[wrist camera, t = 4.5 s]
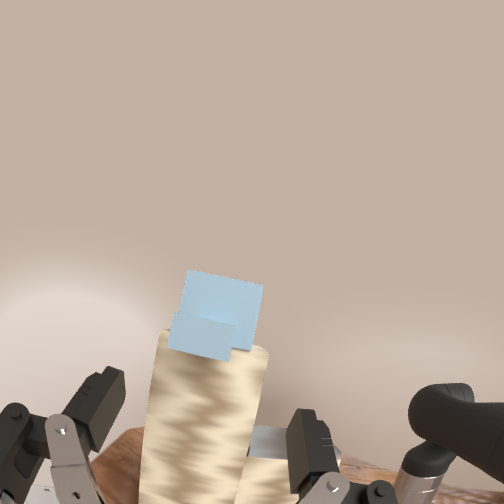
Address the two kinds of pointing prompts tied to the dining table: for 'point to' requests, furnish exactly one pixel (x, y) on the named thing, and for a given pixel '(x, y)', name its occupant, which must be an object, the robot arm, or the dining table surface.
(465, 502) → the dining table surface
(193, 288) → the blue handle block
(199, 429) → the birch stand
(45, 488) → the skincare box
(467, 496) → the dining table surface
